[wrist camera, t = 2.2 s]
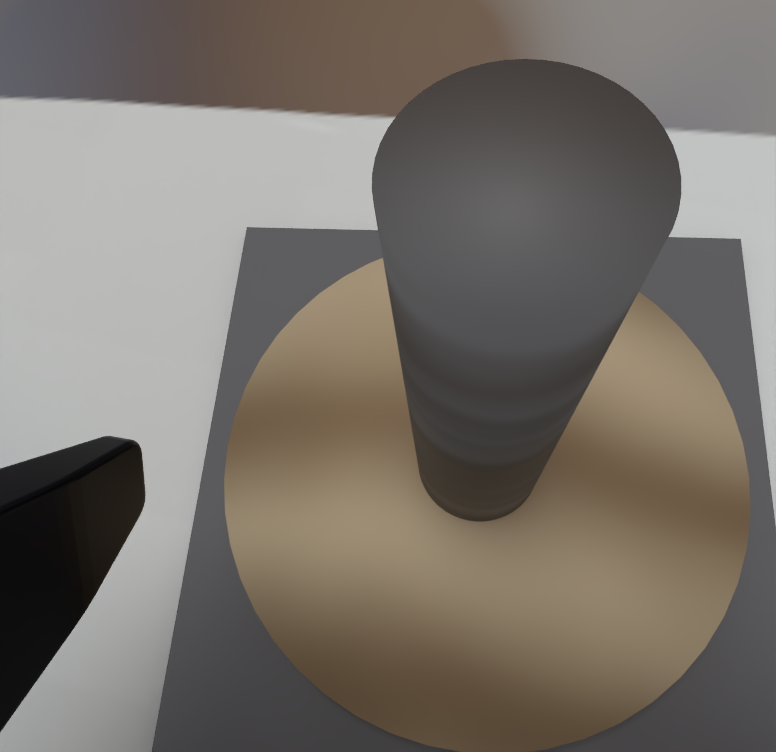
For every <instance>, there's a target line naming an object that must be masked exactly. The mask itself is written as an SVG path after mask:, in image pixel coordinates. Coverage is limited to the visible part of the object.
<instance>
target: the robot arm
mask: <svg viewBox="0 0 776 752" xmlns="http://www.w3.org/2000/svg"><path fill="white" fill-rule="evenodd" d="M144 502H145V484H144V472H143V461H142V452H141V448H140V446H139V444H138V443H137V442H136V441H134V440H130V439H124V438H118V437H113V436H105V437H101V438H98V439H94V440H91V441H88V442H85V443H82V444H78V445H75V446H72V447H69V448H65V449H62V450H59V451H56V452H52V453H49V454H46V455H43V456H40V457H36V458H33V459H30V460H27V461H23V462H20V463H17V464H14V465H11V466H7V467H4V468H1V469H0V732H1V730H2V729H3V728H4V726H5V725H6V723H7V722H8V721H9V719H10V718H11V716H12V715H13V713H14V712H15V711H16V709H17V708H18V706H19V705H20V704H21V702H22V701H23V699H24V698H25V697H26V695H27V694H28V692H29V691H30V689H31V688H32V687H33V685H34V684H35V682H36V681H37V680H38V678H39V677H40V675H41V674H42V673H43V671H44V670H45V668H46V667H47V665H48V664H49V663H50V661H51V660H52V658H53V657H54V656H55V654H56V653H57V651H58V650H59V649H60V647H61V646H62V644H63V643H64V641H65V640H66V639H67V637H68V636H69V634H70V633H71V632H72V630H73V629H74V627H75V626H76V624H77V623H78V621H79V620H80V618H81V617H82V615H83V614H84V613H85V611H86V609H87V608H88V606H89V604H90V603H91V601H92V599H93V598H94V596H95V595H96V593H97V591H98V589H99V587H100V586H101V584H102V582H103V580H104V578H105V577H106V575H107V573H108V571H109V570H110V568H111V566H112V564H113V562H114V561H115V559H116V557H117V555H118V554H119V552H120V550H121V548H122V546H123V545H124V543H125V541H126V539H127V538H128V536H129V534H130V532H131V530H132V529H133V527H134V525H135V523H136V521H137V520H138V518H139V516H140V514H141V512H142V509H143V507H144Z"/></svg>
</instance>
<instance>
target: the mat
mask: <svg viewBox="0 0 776 752" xmlns="http://www.w3.org/2000/svg"><path fill="white" fill-rule="evenodd" d="M381 258H383V255H382V250H381V244H380V238H379V232H378V230H336V229H294V228H251V227H247V230H246V236H245V241H244V247H243V252H242V258H241V263H240V269H239V274H238V280H237V285H236V291H235V296H234V302H233V307H232V313H231V318H230V324H229V329H228V335H227V340H226V346H225V351H224V357H223V362H222V368H221V373H220V379H219V384H218V390H217V395H216V401H215V406H214V412H213V417H212V423H211V428H210V434H209V439H208V445H207V450H206V456H205V461H204V467H203V472H202V478H201V483H200V489H199V494H198V500H197V505H196V511H195V516H194V522H193V528H192V533H191V539H190V544H189V550H188V555H187V561H186V566H185V572H184V577H183V583H182V588H181V594H180V599H179V605H178V610H177V616H176V621H175V627H174V632H173V638H172V643H171V649H170V654H169V660H168V665H167V671H166V676H165V682H164V687H163V693H162V698H161V704H160V709H159V715H158V720H157V726H156V731H155V737H154V742H153V748H152V752H460V751H454V750H449V749H443V748H437V747H432V746H427V745H424V744H421V743H418V742H415V741H412V740H409V739H406V738H403V737H400V736H397V735H394V734H391V733H389V732H387V731H385V730H383V729H381V728H379V727H377V726H375V725H373V724H371V723H369V722H367V721H365V720H363V719H361V718H359V717H357V716H355V715H354V714H353V713H351V712H350V711H348V710H347V709H345V708H344V707H342V706H341V705H339V704H338V703H336V702H335V701H334V700H332V699H331V698H329V697H328V696H326V695H325V694H324V693H323V692H322V691H321V690H319V689H318V688H317V687H316V686H315V685H314V684H313V683H312V682H311V681H310V680H308V679H307V678H306V677H305V676H304V675H303V674H302V673H301V672H300V671H299V670H298V669H297V668H296V667H295V666H294V665H293V664H292V662H291V661H290V660H289V659H288V658H287V656H286V655H285V654H284V653H283V652H282V650H281V649H280V648H279V647H278V646H277V644H276V643H275V642H274V641H273V639H272V637H271V636H270V634H269V633H268V631H267V629H266V628H265V626H264V625H263V623H262V621H261V620H260V618H259V617H258V615H257V613H256V612H255V610H254V608H253V606H252V604H251V601H250V599H249V597H248V595H247V592H246V590H245V588H244V586H243V584H242V581H241V579H240V576H239V573H238V570H237V566H236V563H235V559H234V556H233V553H232V549H231V546H230V541H229V534H228V528H227V522H226V515H225V495H224V475H225V465H226V456H227V446H228V442H229V438H230V434H231V430H232V425H233V421H234V417H235V414H236V411H237V409H238V406H239V403H240V401H241V398H242V395H243V393H244V390H245V387H246V385H247V384H248V382H249V380H250V378H251V376H252V374H253V372H254V370H255V368H256V366H257V365H258V363H259V361H260V359H261V358H262V356H263V355H264V353H265V352H266V351H267V349H268V348H269V346H270V345H271V343H272V342H273V341H274V339H275V338H276V336H277V335H278V334H279V333H280V332H281V330H282V329H283V328H284V327H285V326H286V325H287V324H288V323H289V322H290V320H291V319H292V318H293V317H294V316H295V315H296V314H297V313H298V312H299V311H300V310H301V309H302V308H303V307H305V306H306V305H307V304H308V303H309V302H310V301H311V300H313V299H314V298H315V297H316V296H317V295H318V294H319V293H321V292H322V291H324V290H325V289H327V288H328V287H330V286H331V285H332V284H334V283H335V282H337V281H338V280H340V279H341V278H343V277H344V276H346V275H348V274H350V273H352V272H354V271H356V270H357V269H359V268H361V267H363V266H365V265H367V264H369V263H371V262H374V261H376V260H379V259H381ZM639 292H640V293H641V294H643V295H644V296H645V297H647V298H648V299H649V300H651V301H652V302H653V303H655V304H656V305H657V306H658V307H659V308H660V309H661V310H662V311H663V312H664V313H666V314H667V315H668V316H669V317H670V318H671V319H672V320H673V321H674V322H675V323H676V324H677V325H678V326H679V327H680V328H681V329H682V330H683V332H684V333H685V334H686V335H687V337H688V338H689V339H690V340H691V341H692V343H693V344H694V345H695V346H696V347H697V349H698V350H699V351H700V352H701V354H702V355H703V357H704V359H705V360H706V362H707V363H708V365H709V367H710V368H711V370H712V371H713V373H714V374H715V376H716V378H717V379H718V381H719V383H720V385H721V387H722V389H723V391H724V394H725V396H726V398H727V400H728V402H729V404H730V406H731V408H732V411H733V414H734V417H735V420H736V423H737V426H738V429H739V432H740V435H741V438H742V442H743V446H744V451H745V457H746V463H747V468H748V474H749V486H750V511H751V513H750V523H749V533H748V542H747V550H746V554H745V558H744V562H743V566H742V570H741V574H740V578H739V582H738V584H737V587H736V589H735V592H734V594H733V596H732V599H731V601H730V604H729V606H728V609H727V611H726V613H725V616H724V618H723V619H722V621H721V623H720V624H719V626H718V628H717V629H716V631H715V633H714V634H713V636H712V638H711V639H710V641H709V643H708V644H707V646H706V647H705V649H704V650H703V651H702V652H701V654H700V655H699V656H698V657H697V658H696V660H695V661H694V662H693V663H692V665H691V666H690V667H689V668H688V669H687V671H686V672H685V673H684V674H683V675H682V677H681V678H679V679H678V680H677V681H676V682H675V683H674V684H673V685H672V686H670V687H669V688H668V689H667V690H666V691H665V692H664V693H662V694H661V695H660V696H659V697H658V698H657V699H656V700H655V701H653V702H652V703H651V704H649V705H648V706H646V707H644V708H643V709H641V710H640V711H638V712H637V713H635V714H634V715H632V716H630V717H629V718H627V719H626V720H624V721H623V722H621V723H619V724H617V725H615V726H613V727H610V728H608V729H606V730H604V731H601V732H599V733H597V734H595V735H592V736H590V737H588V738H586V739H583V740H579V741H575V742H572V743H568V744H564V745H561V746H557V747H553V748H550V749H546V750H537V751H529V752H776V527H775V518H774V510H773V502H772V494H771V485H770V477H769V469H768V461H767V452H766V444H765V436H764V428H763V420H762V411H761V403H760V395H759V387H758V378H757V370H756V362H755V354H754V345H753V337H752V329H751V321H750V313H749V304H748V296H747V288H746V280H745V271H744V263H743V255H742V247H741V239H720V238H677V237H668V238H667V240H666V242H665V244H664V246H663V248H662V249H661V251H660V253H659V255H658V257H657V259H656V261H655V263H654V264H653V266H652V268H651V270H650V272H649V274H648V276H647V277H646V279H645V281H644V283H643V285H642V287H641V289H640V290H639Z"/></svg>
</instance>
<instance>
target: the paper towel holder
mask: <svg viewBox="0 0 776 752" xmlns="http://www.w3.org/2000/svg"><path fill="white" fill-rule="evenodd" d="M372 194H373V201H374V208H375V214H376V220H377V226H378V232H379V238H380V244H381V250H382V255H383V258H381V259H379V260H376V261H374V262H371V263H369V264H367V265H365V266H363V267H361V268H359V269H357V270H356V271H354V272H352V273H350V274H348V275H346V276H344V277H343V278H341V279H340V280H338V281H337V282H335V283H334V284H332V285H331V286H330V287H328V288H327V289H325V290H324V291H322V292H321V293H319V294H318V295H317V296H316V297H315V298H314V299H313V300H311V301H310V302H309V303H308V304H307V305H306V306H305V307H303V308H302V309H301V310H300V311H299V312H298V313H297V314H296V315H295V316H294V317H293V318H292V319H291V320H290V322H289V323H288V324H287V325H286V326H285V327H284V328H283V329H282V330H281V332H280V333H279V334H278V335H277V336H276V338H275V339H274V341H273V342H272V343H271V345H270V346H269V348H268V349H267V351H266V352H265V353H264V355H263V356H262V358H261V359H260V361H259V363H258V365H257V366H256V368H255V370H254V372H253V374H252V376H251V378H250V380H249V382H248V384H247V385H246V387H245V390H244V393H243V395H242V398H241V401H240V403H239V406H238V409H237V411H236V414H235V417H234V421H233V425H232V430H231V434H230V438H229V442H228V446H227V456H226V465H225V475H224V495H225V515H226V522H227V528H228V534H229V541H230V546H231V549H232V553H233V556H234V559H235V563H236V566H237V570H238V573H239V576H240V579H241V581H242V584H243V586H244V588H245V590H246V592H247V595H248V597H249V599H250V601H251V604H252V606H253V608H254V610H255V612H256V613H257V615H258V617H259V618H260V620H261V621H262V623H263V625H264V626H265V628H266V629H267V631H268V633H269V634H270V636H271V637H272V639H273V641H274V642H275V643H276V644H277V646H278V647H279V648H280V649H281V650H282V652H283V653H284V654H285V655H286V656H287V658H288V659H289V660H290V661H291V662H292V664H293V665H294V666H295V667H296V668H297V669H298V670H299V671H300V672H301V673H302V674H303V675H304V676H305V677H306V678H307V679H308V680H310V681H311V682H312V683H313V684H314V685H315V686H316V687H317V688H318V689H319V690H321V691H322V692H323V693H324V694H325V695H326V696H328V697H329V698H331V699H332V700H334V701H335V702H336V703H338V704H339V705H341V706H342V707H344V708H345V709H347V710H348V711H350V712H351V713H353V714H354V715H355V716H357V717H359V718H361V719H363V720H365V721H367V722H369V723H371V724H373V725H375V726H377V727H379V728H381V729H383V730H385V731H387V732H389V733H391V734H394V735H397V736H400V737H403V738H406V739H409V740H412V741H415V742H418V743H421V744H424V745H427V746H432V747H437V748H443V749H449V750H454V751H460V752H529V751H537V750H546V749H550V748H553V747H557V746H561V745H564V744H568V743H572V742H575V741H579V740H583V739H586V738H588V737H590V736H592V735H595V734H597V733H599V732H601V731H604V730H606V729H608V728H610V727H613V726H615V725H617V724H619V723H621V722H623V721H624V720H626V719H627V718H629V717H630V716H632V715H634V714H635V713H637V712H638V711H640V710H641V709H643V708H644V707H646V706H648V705H649V704H651V703H652V702H653V701H655V700H656V699H657V698H658V697H659V696H660V695H661V694H662V693H664V692H665V691H666V690H667V689H668V688H669V687H670V686H672V685H673V684H674V683H675V682H676V681H677V680H678V679H679V678H681V677H682V675H683V674H684V673H685V672H686V671H687V669H688V668H689V667H690V666H691V665H692V663H693V662H694V661H695V660H696V658H697V657H698V656H699V655H700V654H701V652H702V651H703V650H704V649H705V647H706V646H707V644H708V643H709V641H710V639H711V638H712V636H713V634H714V633H715V631H716V629H717V628H718V626H719V624H720V623H721V621H722V619H723V618H724V616H725V613H726V611H727V609H728V606H729V604H730V601H731V599H732V596H733V594H734V592H735V589H736V587H737V584H738V582H739V578H740V574H741V570H742V566H743V562H744V558H745V554H746V550H747V542H748V533H749V523H750V513H751V511H750V486H749V474H748V468H747V463H746V457H745V451H744V446H743V442H742V438H741V435H740V432H739V429H738V426H737V423H736V420H735V417H734V414H733V411H732V408H731V406H730V404H729V402H728V400H727V398H726V396H725V394H724V391H723V389H722V387H721V385H720V383H719V381H718V379H717V378H716V376H715V374H714V373H713V371H712V370H711V368H710V367H709V365H708V363H707V362H706V360H705V359H704V357H703V355H702V354H701V352H700V351H699V350H698V349H697V347H696V346H695V345H694V344H693V343H692V341H691V340H690V339H689V338H688V337H687V335H686V334H685V333H684V332H683V330H682V329H681V328H680V327H679V326H678V325H677V324H676V323H675V322H674V321H673V320H672V319H671V318H670V317H669V316H668V315H667V314H666V313H664V312H663V311H662V310H661V309H660V308H659V307H658V306H657V305H656V304H655V303H653V302H652V301H651V300H649V299H648V298H647V297H645V296H644V295H643V294H641V293H640V292H639V290H640V289H641V287H642V285H643V283H644V281H645V279H646V277H647V276H648V274H649V272H650V270H651V268H652V266H653V264H654V263H655V261H656V259H657V257H658V255H659V253H660V251H661V249H662V248H663V246H664V244H665V242H666V240H667V238H668V236H669V234H670V233H671V231H672V229H673V226H674V223H675V220H676V217H677V214H678V211H679V205H680V198H681V174H680V169H679V163H678V159H677V156H676V153H675V150H674V147H673V144H672V142H671V141H670V139H669V137H668V135H667V133H666V131H665V129H664V128H663V126H662V125H661V124H660V122H659V121H658V119H657V118H656V117H655V115H654V114H653V113H652V112H651V111H650V110H649V109H648V108H647V107H646V106H645V105H644V104H643V103H642V102H641V101H640V100H639V99H637V98H636V97H635V96H634V95H633V94H631V93H630V92H629V91H627V90H626V89H624V88H623V87H621V86H620V85H618V84H617V83H615V82H613V81H611V80H609V79H607V78H605V77H603V76H601V75H599V74H597V73H594V72H591V71H589V70H586V69H583V68H580V67H577V66H573V65H569V64H565V63H560V62H553V61H547V60H532V59H531V60H530V59H518V60H504V61H497V62H490V63H485V64H482V65H478V66H474V67H470V68H467V69H465V70H462V71H459V72H456V73H454V74H452V75H450V76H448V77H446V78H444V79H442V80H440V81H438V82H436V83H434V84H433V85H431V86H430V87H428V88H427V89H425V90H424V91H422V92H421V93H420V94H419V95H417V96H416V97H415V98H414V99H413V100H411V101H410V102H409V103H408V104H407V105H406V106H405V107H404V108H403V109H402V111H401V112H400V113H399V114H398V115H397V116H396V118H395V119H394V120H393V122H392V123H391V125H390V126H389V127H388V129H387V131H386V133H385V135H384V137H383V139H382V141H381V143H380V146H379V148H378V151H377V154H376V157H375V162H374V167H373V173H372Z"/></svg>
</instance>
